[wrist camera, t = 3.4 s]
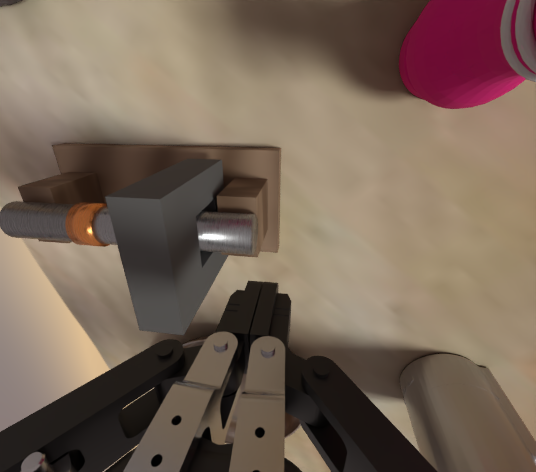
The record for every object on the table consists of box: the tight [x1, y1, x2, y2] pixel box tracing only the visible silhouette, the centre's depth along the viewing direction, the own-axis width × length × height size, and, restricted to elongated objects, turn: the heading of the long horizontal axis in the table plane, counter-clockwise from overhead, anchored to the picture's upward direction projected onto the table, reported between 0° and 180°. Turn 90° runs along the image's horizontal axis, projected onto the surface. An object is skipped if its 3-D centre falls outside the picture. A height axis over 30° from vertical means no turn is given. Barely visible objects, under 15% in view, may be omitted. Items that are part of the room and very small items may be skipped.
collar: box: [105, 159, 228, 335], centre depth 21 cm, size 3×9×10 cm, turn 0°
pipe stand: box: [18, 143, 281, 257], centre depth 26 cm, size 22×10×7 cm, turn 90°
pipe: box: [0, 201, 258, 255], centre depth 22 cm, size 20×3×3 cm, turn 90°
